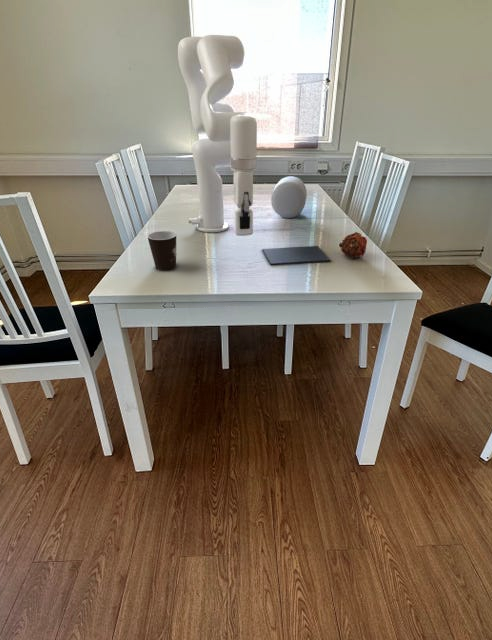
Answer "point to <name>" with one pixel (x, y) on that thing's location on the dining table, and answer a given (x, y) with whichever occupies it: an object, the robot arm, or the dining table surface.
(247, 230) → the eye dropper bottle
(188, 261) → the dining table surface
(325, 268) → the dining table surface
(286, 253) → the mat
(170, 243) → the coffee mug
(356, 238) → the dragon fruit
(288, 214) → the grey egg shape
